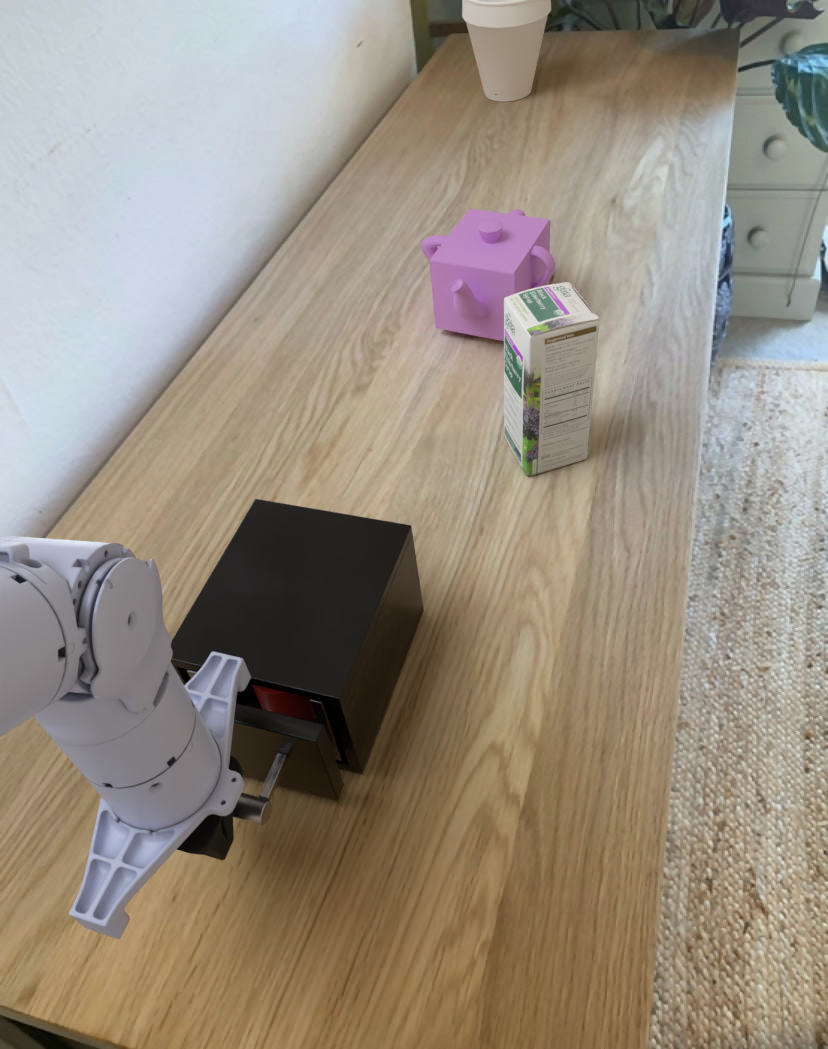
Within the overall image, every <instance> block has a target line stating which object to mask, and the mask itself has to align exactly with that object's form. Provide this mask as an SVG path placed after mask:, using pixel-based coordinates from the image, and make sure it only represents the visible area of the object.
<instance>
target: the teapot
mask: <svg viewBox="0 0 828 1049" xmlns="http://www.w3.org/2000/svg"><path fill="white" fill-rule="evenodd" d="M420 249H421V251H422V253H423V255H424V257H425V258H426V259H427V261H428V262H429V273H430V284H431V293H432V305H433V317H434V326H435V329H437V330H438V329H439V330H444V331H448V332H453V333H458V334H459V333H460V334H464V335H469V336H474V337H480V338H485V339H490V340H494V341H495V340H496V341H500V342H501V341H502V342H504V298H505V297H508V296H510V295H513V294H516V293H519V292H522V291H525V290H528V289H532V288H536V287H541V286H545V285H550V279H551V278H552V276H553V274H554V272H555V269H556V268H555V267H556V262H555V258H554V257H553V255H552V254H551V219H549V218H541V217H535V216H529V215H526V212H524V210H522V209H513V210H511V211H510V212H509V213H505V212H499V211H491V210H482V209H475V208H469V209H468V211H467V212H466V213H465V214H464V215H463V217H462V218H461V219H460V220H459V222H458V223H457V224H456V225H455V227H454V228H453V229H452V230H451V231H450V233H449V234H448V235H447V234H436V235H435V234H434V235H430V236H427V237H425V238H424V239H423V240H422V241H421V244H420Z"/></svg>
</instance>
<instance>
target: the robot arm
mask: <svg viewBox="0 0 828 1049" xmlns="http://www.w3.org/2000/svg"><path fill="white" fill-rule="evenodd" d="M172 639H173V638H172V636H171V635H170V633H169V631H168V629H167V627H166V625H165V620H164V613H163V588H162V581H161V576H160V572H159V569H158V566H157V563H156V561H155V558H150V559H149V560H148V561H147V559H141V558H138V557H136V555H135V554H134V553H133V551H132V550H131V549H130V548H128V547H124V544H121V543H119V542H104V541H92V540H91V541H90V540H75V539H61V538H60V539H59V538H49V537H47V538H45V537H34V536H33V537H32V536H31V537H30V536H18V535H0V738H1V737H3V736H5V735H6V734H8V733H9V732H11V731H13V730H14V729H16V728H18V727H19V726H20V725H22V724H23V723H25V722H26V721H28V720H29V719H31V718H34V719H35V721H36V722H37V723H38V724H39V725H40V726H41V728H42V729H43V730H44V731H45V732H46V734H47V735H48V736H49V737H50V738H51V739H52V741H53V742H54V743H55V744H56V745H57V746H58V747H59V749H60V750H61V751H62V752H63V754H65V756H66V757H67V758H68V759H69V760H70V762H71V763H72V764H73V766H75V768H76V769H77V770H78V771H79V773H80V774H81V776H83V777H84V778H85V780H86V781H87V782H88V783H89V785H90V786H91V787H92V788H93V789H94V791H95V792H96V793H97V795H99V796H100V800H99V804H98V808H97V809H98V810H97V814H96V819H95V823H94V828H93V832H92V838H91V844H90V847H89V851H88V855H87V856H88V857H87V861H86V865H85V870H84V873H83V878H82V881H81V885H80V888H79V891H78V893H77V895H76V898H75V900H74V902H73V904H72V906H71V908H70V909H69V912H68V915H69V916H70V917H71V918H72V919H74V920H75V921H76V922H77V923H78V924H80V926H82V927H83V928H84V929H87V930H90V931H93V932H96V933H99V934H101V935H104V936H107V937H111V938H114V939H117V940H120V939H121V938H122V937H123V935H124V932H125V931H126V929H127V927H128V926H129V923H130V920H131V919H130V915H129V914H128V913H127V912H126V911H125V909H126V907H128V904H129V903H130V902H131V901H132V900H133V898H134V897H135V896H136V895H137V894H138V892H139V891H140V890H141V889H142V888H143V887H144V885H145V884H147V882H148V881H149V880H150V879H151V878H152V877H153V876H154V874H155V873H157V871H159V869H160V868H161V867H162V866H163V865H164V864H165V862H167V860H168V859H169V858H170V857H171V856H172V855H173V854H174V853H175V852H176V851H180V852H184V853H186V854H191V855H200V856H206V857H208V858H213V859H215V860H219V861H224V860H226V858H227V856H228V854H229V851H230V849H231V847H232V845H233V842H234V839H235V832H234V830H235V829H234V817H233V810H234V808H235V806H236V804H237V802H238V799H239V797H240V795H241V793H243V791H244V788H245V781H244V778H243V776H242V775H243V772H244V771H243V769H242V767H241V765H240V763H239V762H238V760H237V759H236V758H235V757H233V756H231V755H230V752H231V742H232V733H233V724H234V715H235V706H236V697H237V691H243V690H245V688H246V687H247V685H248V683H249V681H250V679H251V675H250V673H249V671H248V668H247V666H246V664H245V662H244V659H243V658H239V657H235V656H231V655H226V654H222V653H218V652H211V654H210V655H209V657H208V658H207V660H206V662H205V663H204V665H203V666H202V667H201V669H200V670H199V671H198V672H197V673H196V674H195V675H194V676H193V677H192V679H191V680H190V681H189V682H187V683H186V684H185V685H183V683H182V681H181V679H180V677H179V676H178V674H177V672H176V670H175V668H174V667H173V665H172V663H171V659H172V655H173V651H172V648H171V642H172Z"/></svg>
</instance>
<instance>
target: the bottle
mask: <svg viewBox="0 0 828 1049" xmlns="http://www.w3.org/2000/svg"><path fill="white" fill-rule="evenodd" d="M252 686H253V689H254V691H255V693H256V695H257V698H258V700H259V702H260V704H261V706H262V709H263V710H267V711H271V712H275V713H279V714H283V715H287V716H291V717H295V718H299V719H304V720H308V721H312V720H313V719H315V718H316V717H315V714H314V711H313V709H312V706H311V703H310V698H307V697H303V696H299V695H294V694H290V693H286V692H282V691H278V690H273V689H269V688H265V687H261V686H256V685H252Z"/></svg>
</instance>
